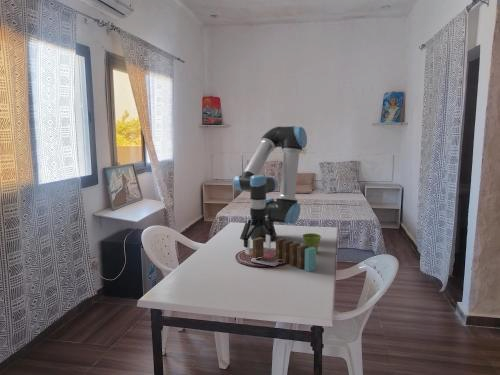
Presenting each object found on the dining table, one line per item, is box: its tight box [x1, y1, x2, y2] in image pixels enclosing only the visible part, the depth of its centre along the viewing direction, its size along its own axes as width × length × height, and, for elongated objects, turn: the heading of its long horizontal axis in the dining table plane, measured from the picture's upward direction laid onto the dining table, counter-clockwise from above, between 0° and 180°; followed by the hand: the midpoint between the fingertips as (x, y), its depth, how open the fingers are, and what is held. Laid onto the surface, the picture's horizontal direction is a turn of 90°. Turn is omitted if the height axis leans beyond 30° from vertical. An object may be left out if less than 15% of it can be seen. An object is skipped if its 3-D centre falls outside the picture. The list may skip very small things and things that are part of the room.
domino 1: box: [252, 237, 265, 259], centre depth 182 cm, size 2×5×10 cm, turn 131°
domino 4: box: [289, 241, 302, 267], centre depth 174 cm, size 2×5×10 cm, turn 131°
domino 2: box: [275, 237, 287, 260], centre depth 181 cm, size 2×5×10 cm, turn 130°
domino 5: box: [296, 243, 308, 270], centre depth 170 cm, size 2×5×10 cm, turn 130°
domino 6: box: [304, 247, 317, 273], centre depth 167 cm, size 2×5×10 cm, turn 130°
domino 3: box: [281, 239, 294, 264], centre depth 177 cm, size 2×5×10 cm, turn 131°
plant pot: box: [301, 233, 322, 254], centre depth 191 cm, size 9×9×9 cm
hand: (257, 250), depth 182 cm, fingers open, 13 cm apart
